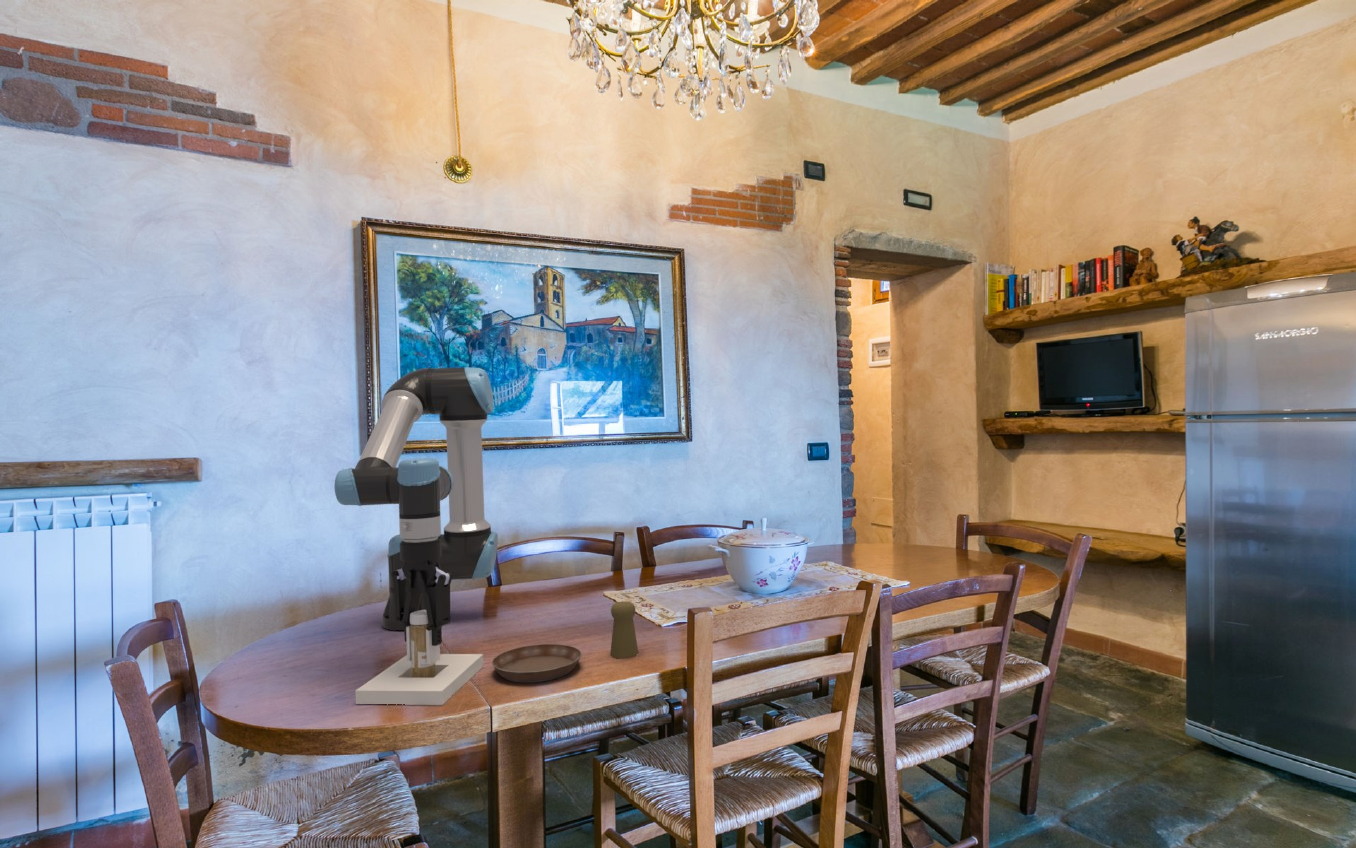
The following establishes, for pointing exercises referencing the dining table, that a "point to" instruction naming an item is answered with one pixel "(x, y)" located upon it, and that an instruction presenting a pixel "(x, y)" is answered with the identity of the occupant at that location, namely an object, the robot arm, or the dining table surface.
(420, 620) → the sprinkles bottle
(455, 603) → the dining table surface
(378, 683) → the white board with recess
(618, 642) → the pepper mill
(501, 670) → the plant saucer
